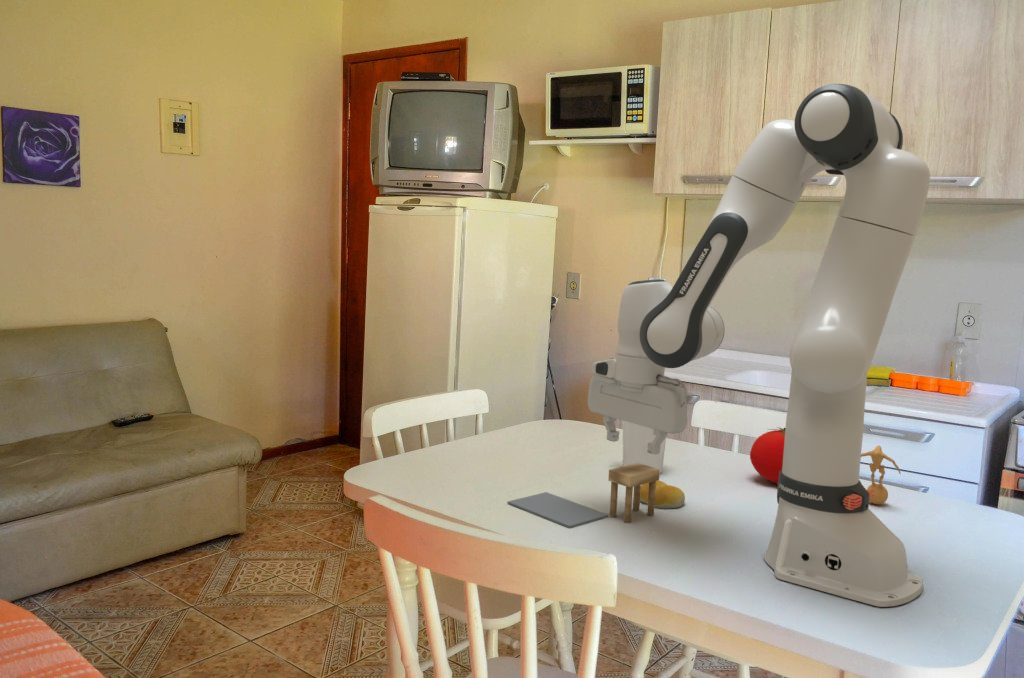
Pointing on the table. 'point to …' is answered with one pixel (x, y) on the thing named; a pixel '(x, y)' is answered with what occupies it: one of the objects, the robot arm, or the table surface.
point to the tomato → (769, 454)
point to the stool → (632, 478)
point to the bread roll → (663, 495)
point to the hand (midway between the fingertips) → (632, 446)
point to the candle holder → (640, 446)
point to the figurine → (880, 490)
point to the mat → (558, 509)
